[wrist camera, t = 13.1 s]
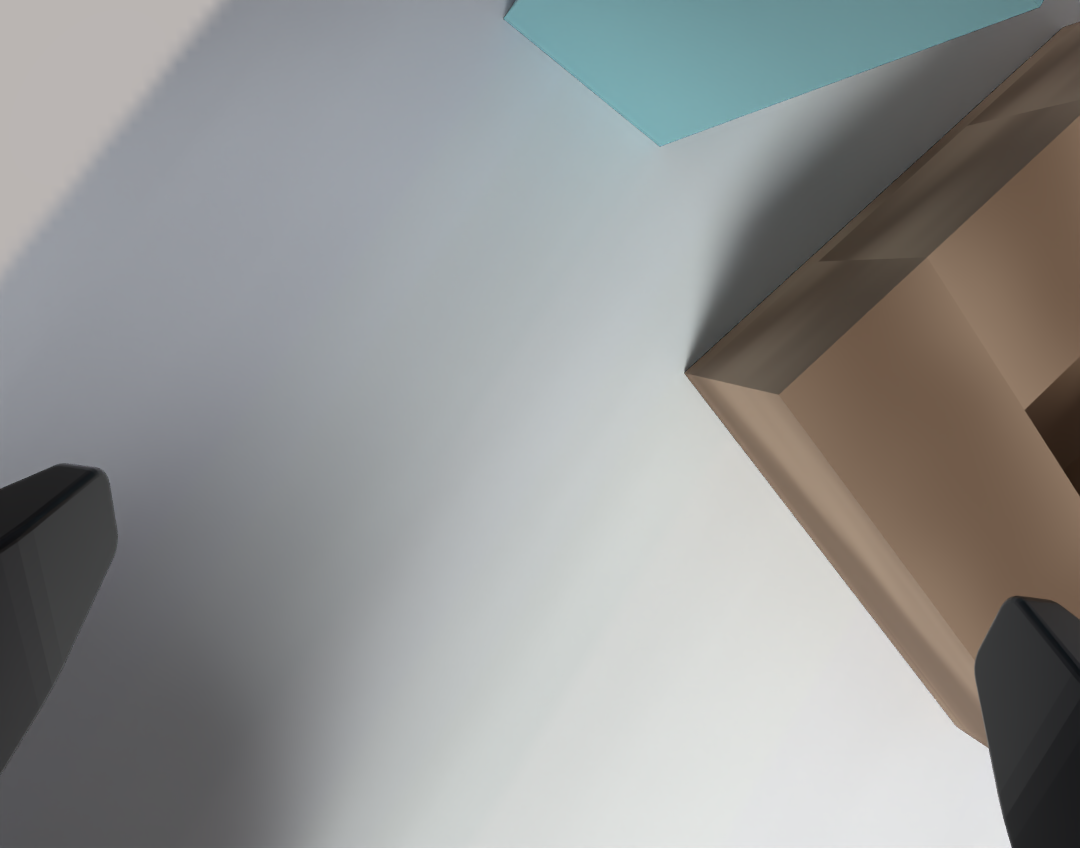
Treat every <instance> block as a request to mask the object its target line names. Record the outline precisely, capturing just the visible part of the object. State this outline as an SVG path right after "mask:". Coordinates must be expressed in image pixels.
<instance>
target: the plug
mask: <svg viewBox="0 0 1080 848" xmlns="http://www.w3.org/2000/svg"><path fill="white" fill-rule="evenodd" d="M1043 1H1044V0H516V1H515V2H514V4H513V5H512V7H511V8H510V10H509V11H508V13H507V14H506V16H505V17H504V20H506V21H507V22H508V23H509V24H510V25H512V26H513V27H514V28H515V29H517V30H518V31H519V32H520V33H521V34H523V35H524V36H525V37H526V38H528V39H529V40H530V41H531V42H533V43H534V44H535V45H536V46H537V47H539V48H540V49H541V50H542V51H544V52H545V53H546V54H547V55H548V56H550V57H551V58H552V59H553V60H555V61H556V62H557V63H558V64H559V65H561V66H562V67H563V68H564V69H566V70H567V71H568V72H569V73H570V74H572V75H573V76H574V77H575V78H577V79H578V80H579V81H580V82H581V83H583V84H584V85H585V86H586V87H588V88H589V89H590V90H591V91H593V92H594V93H595V94H596V95H597V96H599V97H600V98H601V99H602V100H604V101H605V102H606V103H607V104H608V105H610V106H611V107H612V108H613V109H615V110H616V111H617V112H618V113H619V114H621V115H622V116H623V117H624V118H626V119H627V120H628V121H629V122H630V123H632V124H633V125H634V126H635V127H637V128H638V129H639V130H640V131H641V132H643V133H644V134H645V135H646V136H648V137H649V138H650V139H651V140H653V141H654V142H655V143H656V144H657V145H659V146H663V145H665V144H668V143H671V142H674V141H676V140H679V139H682V138H684V137H687V136H690V135H693V134H695V133H698V132H701V131H703V130H706V129H709V128H712V127H714V126H717V125H720V124H723V123H725V122H728V121H731V120H733V119H736V118H739V117H742V116H744V115H747V114H750V113H753V112H755V111H758V110H761V109H763V108H766V107H769V106H772V105H774V104H777V103H780V102H782V101H785V100H788V99H791V98H793V97H796V96H799V95H802V94H804V93H807V92H810V91H812V90H815V89H818V88H821V87H823V86H826V85H829V84H832V83H834V82H837V81H840V80H842V79H845V78H848V77H851V76H853V75H856V74H859V73H862V72H864V71H867V70H870V69H872V68H875V67H878V66H881V65H883V64H886V63H889V62H891V61H894V60H897V59H900V58H902V57H905V56H908V55H911V54H913V53H916V52H919V51H921V50H924V49H927V48H930V47H932V46H935V45H938V44H941V43H943V42H946V41H949V40H951V39H954V38H957V37H960V36H962V35H965V34H968V33H970V32H973V31H976V30H979V29H981V28H984V27H987V26H990V25H992V24H995V23H998V22H1000V21H1003V20H1006V19H1009V18H1011V17H1014V16H1017V15H1020V14H1022V13H1025V12H1028V11H1030V10H1033V9H1036V8H1039V7H1040V6H1041V4H1042V3H1043Z"/></svg>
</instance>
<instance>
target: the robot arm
mask: <svg viewBox="0 0 1080 848" xmlns="http://www.w3.org/2000/svg"><path fill="white" fill-rule="evenodd" d="M117 539H118V534H117V526H116V520H115V514H114V508H113V502H112V496H111V489H110V483H109V480H108V477H107V475H106V473H105V472H104V471H102V470H101V469H99V468H96V467H89V466H82V465H75V464H65V463H63V464H58V465H55V466H52V467H50V468H48V469H45V470H43V471H41V472H38V473H36V474H34V475H31V476H29V477H27V478H24V479H22V480H20V481H17V482H15V483H13V484H11V485H8V486H6V487H4V488H1V489H0V775H1V774H2V772H3V770H4V769H5V767H6V765H7V764H8V762H9V761H10V759H11V757H12V756H13V754H14V752H15V751H16V749H17V747H18V746H19V744H20V742H21V741H22V739H23V737H24V736H25V734H26V732H27V731H28V729H29V727H30V726H31V724H32V722H33V721H34V719H35V718H36V716H37V714H38V713H39V711H40V709H41V707H42V706H43V704H44V702H45V700H46V699H47V697H48V695H49V693H50V692H51V690H52V688H53V686H54V684H55V682H56V680H57V678H58V676H59V674H60V672H61V670H62V668H63V666H64V664H65V662H66V660H67V658H68V655H69V653H70V651H71V649H72V647H73V644H74V642H75V640H76V638H77V636H78V634H79V631H80V629H81V627H82V625H83V623H84V621H85V618H86V616H87V614H88V612H89V610H90V608H91V605H92V603H93V601H94V599H95V597H96V595H97V592H98V590H99V588H100V586H101V584H102V582H103V579H104V577H105V575H106V573H107V571H108V568H109V566H110V564H111V562H112V560H113V557H114V555H115V551H116V547H117ZM974 675H975V682H976V687H977V692H978V697H979V702H980V707H981V712H982V717H983V722H984V727H985V732H986V737H987V742H988V747H989V752H990V757H991V762H992V767H993V772H994V777H995V782H996V788H997V793H998V797H999V802H1000V806H1001V810H1002V814H1003V819H1004V822H1005V826H1006V829H1007V833H1008V836H1009V840H1010V843H1011V846H1012V848H1080V619H1078V618H1077V617H1076V616H1074V615H1073V614H1072V613H1071V612H1069V611H1068V610H1067V609H1065V608H1064V607H1063V606H1061V605H1060V604H1058V603H1057V602H1054V601H1052V600H1048V599H1041V598H1033V597H1026V596H1019V595H1017V596H1012V597H1010V598H1008V599H1007V600H1006V601H1004V603H1003V604H1002V606H1001V607H1000V609H999V611H998V613H997V615H996V617H995V619H994V621H993V623H992V625H991V627H990V629H989V630H988V632H987V634H986V636H985V638H984V640H983V642H982V644H981V646H980V648H979V650H978V652H977V655H976V659H975V665H974Z"/></svg>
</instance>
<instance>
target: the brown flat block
mask: <svg viewBox="0 0 1080 848" xmlns="http://www.w3.org/2000/svg"><path fill="white" fill-rule="evenodd" d="M685 375H686V376H687V377H688V379H689V380H690V381H691V383H692V384H693V385H694V386H695V388H696V389H697V390H698V392H699V393H700V394H701V396H702V397H703V398H704V399H705V401H706V402H707V403H708V405H709V406H710V407H711V409H712V410H713V411H714V412H715V414H716V415H717V416H718V418H719V419H720V420H721V422H722V423H723V424H724V425H725V427H726V428H727V429H728V431H729V432H730V433H731V435H732V436H733V437H734V438H735V440H736V441H737V442H738V444H739V445H740V446H741V447H742V449H743V450H744V451H745V453H746V454H747V455H748V457H749V458H750V459H751V460H752V462H753V463H754V464H755V466H756V467H757V468H758V470H759V471H760V472H761V473H762V475H763V476H764V477H765V479H766V480H767V481H768V483H769V484H770V485H771V486H772V488H773V489H774V490H775V492H776V493H777V494H778V496H779V497H780V498H781V499H782V501H783V502H784V503H785V505H786V506H787V507H788V509H789V510H790V511H791V512H792V514H793V515H794V516H795V518H796V519H797V520H798V521H799V523H800V524H801V525H802V527H803V528H804V529H805V531H806V532H807V533H808V534H809V536H810V537H811V538H812V540H813V541H814V542H815V544H816V545H817V546H818V547H819V549H820V550H821V551H822V553H823V554H824V555H825V557H826V558H827V559H828V560H829V562H830V563H831V564H832V566H833V567H834V568H835V570H836V571H837V572H838V573H839V575H840V576H841V577H842V579H843V580H844V581H845V583H846V584H847V585H848V586H849V588H850V589H851V590H852V592H853V593H854V594H855V595H856V597H857V598H858V599H859V601H860V602H861V603H862V605H863V606H864V607H865V608H866V610H867V611H868V612H869V614H870V615H871V616H872V618H873V619H874V620H875V621H876V623H877V624H878V625H879V627H880V628H881V629H882V631H883V632H884V633H885V634H886V636H887V637H888V638H889V640H890V641H891V642H892V644H893V645H894V646H895V647H896V649H897V650H898V651H899V653H900V654H901V655H902V657H903V658H904V659H905V660H906V662H907V663H908V664H909V666H910V667H911V668H912V669H913V671H914V672H915V673H916V675H917V676H918V677H919V679H920V680H921V681H922V682H923V684H924V685H925V686H926V688H927V689H928V690H929V692H930V693H931V694H932V695H933V697H934V698H935V699H936V701H937V702H938V703H939V705H940V706H941V707H942V708H943V710H944V711H945V712H946V714H947V715H948V716H949V718H950V719H951V720H952V721H953V723H954V724H955V725H956V727H958V728H959V729H961V730H962V731H964V732H965V733H967V734H968V735H970V736H971V737H973V738H974V739H976V740H977V741H979V742H980V743H982V744H983V745H985V746H986V747H988V742H987V737H986V732H985V727H984V722H983V717H982V712H981V707H980V702H979V697H978V692H977V687H976V682H975V675H974V665H975V659H976V655H977V652H978V650H979V648H980V646H981V644H982V642H983V640H984V638H985V636H986V634H987V632H988V630H989V629H990V627H991V625H992V623H993V621H994V619H995V617H996V615H997V613H998V611H999V609H1000V607H1001V606H1002V604H1003V603H1004V601H1006V600H1007V599H1008V598H1010V597H1012V596H1017V595H1019V596H1026V597H1033V598H1041V599H1048V600H1052V601H1054V602H1057V603H1058V604H1060V605H1061V606H1063V607H1064V608H1065V609H1067V610H1068V611H1069V612H1071V613H1072V614H1073V615H1074V616H1076V617H1077V618H1078V619H1080V22H1078V23H1075V24H1072V25H1069V26H1066V27H1063V28H1062V29H1061V30H1060V31H1059V32H1058V33H1056V34H1055V35H1054V36H1053V37H1052V38H1051V39H1050V40H1049V41H1048V42H1047V43H1046V44H1044V45H1043V46H1042V47H1041V48H1040V49H1039V50H1038V51H1037V52H1036V53H1035V54H1033V55H1032V56H1031V57H1030V58H1029V59H1028V60H1027V61H1026V62H1025V63H1024V64H1022V65H1021V66H1020V67H1019V68H1018V69H1017V70H1016V71H1015V72H1014V73H1013V74H1012V75H1010V76H1009V77H1008V78H1007V79H1006V80H1005V81H1004V82H1003V83H1002V84H1001V85H999V86H998V87H997V88H996V89H995V90H994V91H993V92H992V93H991V94H990V95H988V96H987V97H986V98H985V99H984V100H983V101H982V102H981V103H980V104H979V105H978V106H976V107H975V108H974V109H973V110H972V111H971V112H970V113H969V114H968V115H967V116H965V117H964V118H963V119H962V120H961V121H960V122H959V123H958V124H957V125H956V126H954V127H953V128H952V129H951V130H950V131H949V132H948V133H947V134H946V135H945V136H944V137H942V138H941V139H940V140H939V141H938V142H937V143H936V144H935V145H934V146H933V147H931V148H930V149H929V150H928V151H927V152H926V153H925V154H924V155H923V156H922V157H920V158H919V159H918V160H917V161H916V162H915V163H914V164H913V165H912V166H911V167H910V168H908V169H907V170H906V171H905V172H904V173H903V174H902V175H901V176H900V177H899V178H897V179H896V180H895V181H894V182H893V183H892V184H891V185H890V186H889V187H888V188H887V189H885V190H884V191H883V192H882V193H881V194H880V195H879V196H878V197H877V198H876V199H874V200H873V201H872V202H871V203H870V204H869V205H868V206H867V207H866V208H865V209H863V210H862V211H861V212H860V213H859V214H858V215H857V216H856V217H855V218H854V219H853V220H851V221H850V222H849V223H848V224H847V225H846V226H845V227H844V228H843V229H842V230H840V231H839V232H838V233H837V234H836V235H835V236H834V237H833V238H832V239H831V240H829V241H828V242H827V243H826V244H825V245H824V246H823V247H822V248H821V249H820V250H819V251H817V252H816V253H815V254H814V255H813V256H812V257H811V258H810V259H809V260H808V261H806V262H805V263H804V264H803V265H802V266H801V267H800V268H799V269H798V270H797V271H795V272H794V273H793V274H792V275H791V276H790V277H789V278H788V279H787V280H786V281H785V282H783V283H782V284H781V285H780V286H779V287H778V288H777V289H776V290H775V291H774V292H772V293H771V294H770V295H769V296H768V297H767V298H766V299H765V300H764V301H763V302H761V303H760V304H759V305H758V306H757V307H756V308H755V309H754V310H753V311H752V312H751V313H749V314H748V315H747V316H746V317H745V318H744V319H743V320H742V321H741V322H740V323H738V324H737V325H736V326H735V327H734V328H733V329H732V330H731V331H730V332H729V333H727V334H726V335H725V336H724V337H723V338H722V339H721V340H720V341H719V342H718V343H717V344H715V345H714V346H713V347H712V348H711V349H710V350H709V351H708V352H707V353H706V354H704V355H703V356H702V357H701V358H700V359H699V360H698V361H697V362H696V363H695V364H693V365H692V366H691V367H690V368H689V369H688V370H687V371H686V372H685ZM988 748H989V747H988Z"/></svg>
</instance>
